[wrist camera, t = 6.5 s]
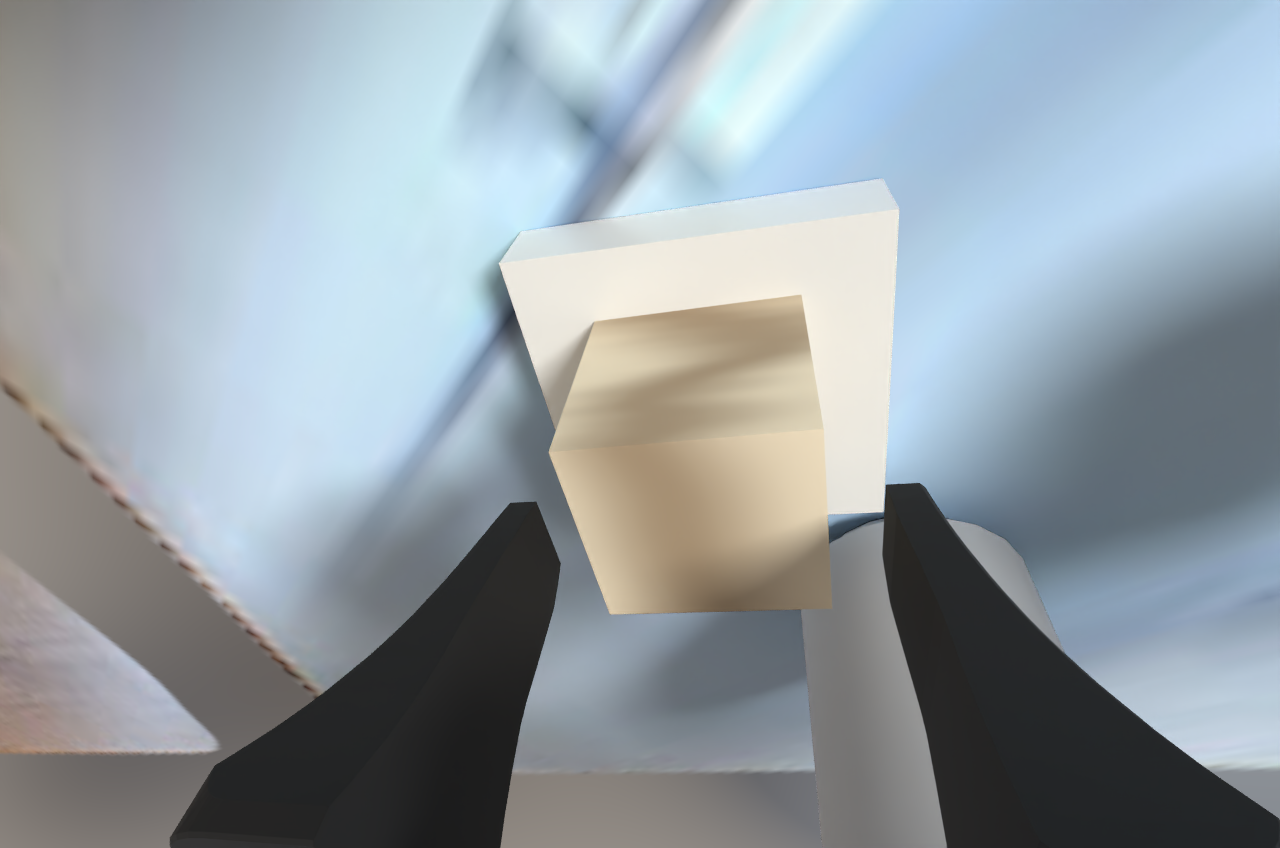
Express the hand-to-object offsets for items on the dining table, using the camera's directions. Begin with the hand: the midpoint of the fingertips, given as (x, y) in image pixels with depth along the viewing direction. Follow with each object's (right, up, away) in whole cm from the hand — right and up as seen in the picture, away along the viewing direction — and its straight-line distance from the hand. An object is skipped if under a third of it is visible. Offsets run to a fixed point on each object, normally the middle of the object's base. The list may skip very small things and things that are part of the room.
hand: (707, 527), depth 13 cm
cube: (0, +3, +3) cm, 5 cm away
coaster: (+1, +4, +5) cm, 7 cm away
